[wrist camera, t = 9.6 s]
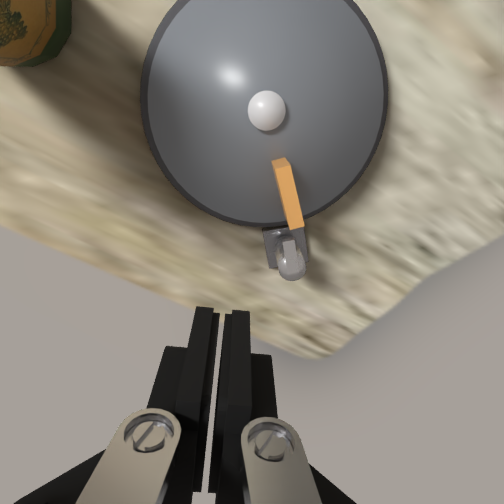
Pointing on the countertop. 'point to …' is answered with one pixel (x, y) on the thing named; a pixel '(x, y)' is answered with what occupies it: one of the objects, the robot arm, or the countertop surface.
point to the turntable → (265, 104)
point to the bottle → (33, 30)
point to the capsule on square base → (286, 251)
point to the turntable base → (153, 46)
